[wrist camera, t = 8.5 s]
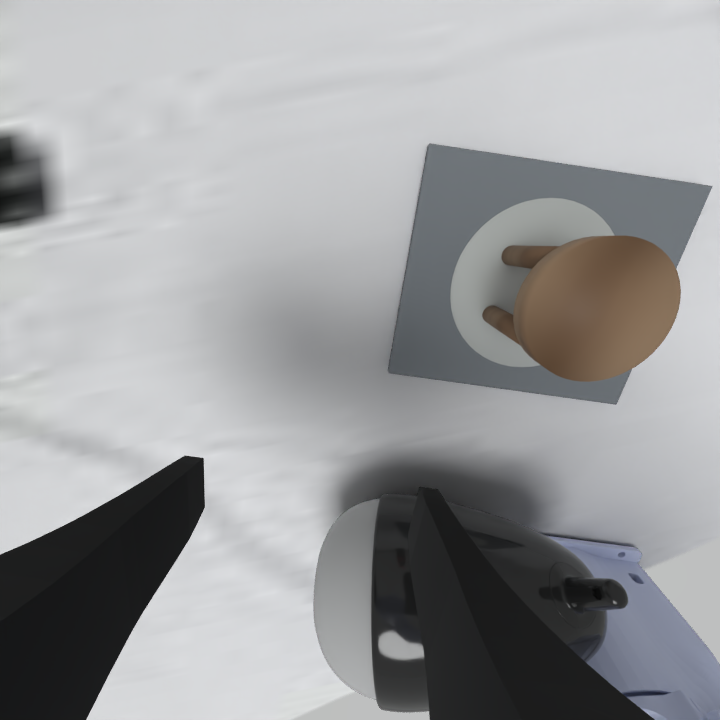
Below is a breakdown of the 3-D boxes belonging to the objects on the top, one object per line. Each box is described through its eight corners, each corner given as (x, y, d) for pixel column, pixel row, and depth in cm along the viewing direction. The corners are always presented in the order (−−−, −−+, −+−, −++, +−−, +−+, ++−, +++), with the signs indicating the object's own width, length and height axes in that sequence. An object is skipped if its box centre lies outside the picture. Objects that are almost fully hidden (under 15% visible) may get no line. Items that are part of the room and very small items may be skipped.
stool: (599, 249, 17) (710, 253, 12) (558, 348, 19) (636, 393, 13) (497, 227, 17) (559, 220, 11) (465, 329, 19) (505, 367, 13)
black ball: (314, 469, 19) (605, 470, 17) (348, 512, 27) (548, 517, 25) (277, 726, 13) (727, 790, 11) (335, 683, 21) (598, 714, 19)
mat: (701, 187, 17) (714, 185, 16) (609, 400, 21) (617, 405, 20) (427, 147, 17) (429, 143, 16) (388, 369, 21) (388, 373, 20)
